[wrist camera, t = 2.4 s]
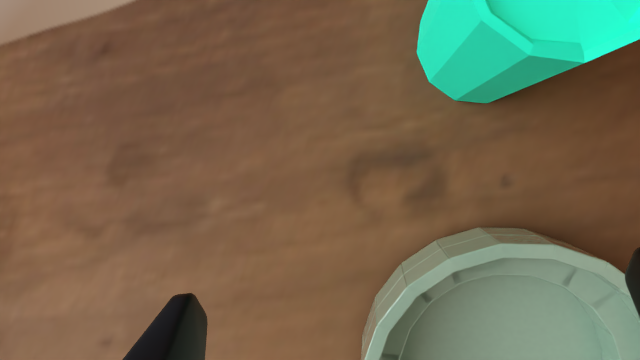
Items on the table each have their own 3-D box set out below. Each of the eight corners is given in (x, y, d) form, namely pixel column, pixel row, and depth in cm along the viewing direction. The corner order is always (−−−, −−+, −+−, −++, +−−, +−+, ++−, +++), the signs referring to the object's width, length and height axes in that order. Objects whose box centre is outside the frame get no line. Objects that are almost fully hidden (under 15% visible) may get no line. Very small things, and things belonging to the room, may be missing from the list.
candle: (397, 79, 22) (429, -4, 11) (444, -39, 22) (533, -267, 10) (513, 122, 22) (682, 86, 10) (564, 3, 21) (808, -184, 9)
